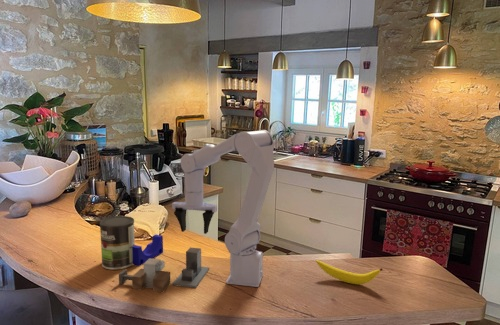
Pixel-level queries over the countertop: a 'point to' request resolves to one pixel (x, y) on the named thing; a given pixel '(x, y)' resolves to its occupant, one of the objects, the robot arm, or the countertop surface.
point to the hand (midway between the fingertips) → (194, 231)
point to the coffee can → (117, 242)
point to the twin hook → (152, 270)
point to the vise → (159, 280)
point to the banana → (348, 274)
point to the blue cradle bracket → (147, 250)
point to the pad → (195, 281)
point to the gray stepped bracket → (192, 264)
